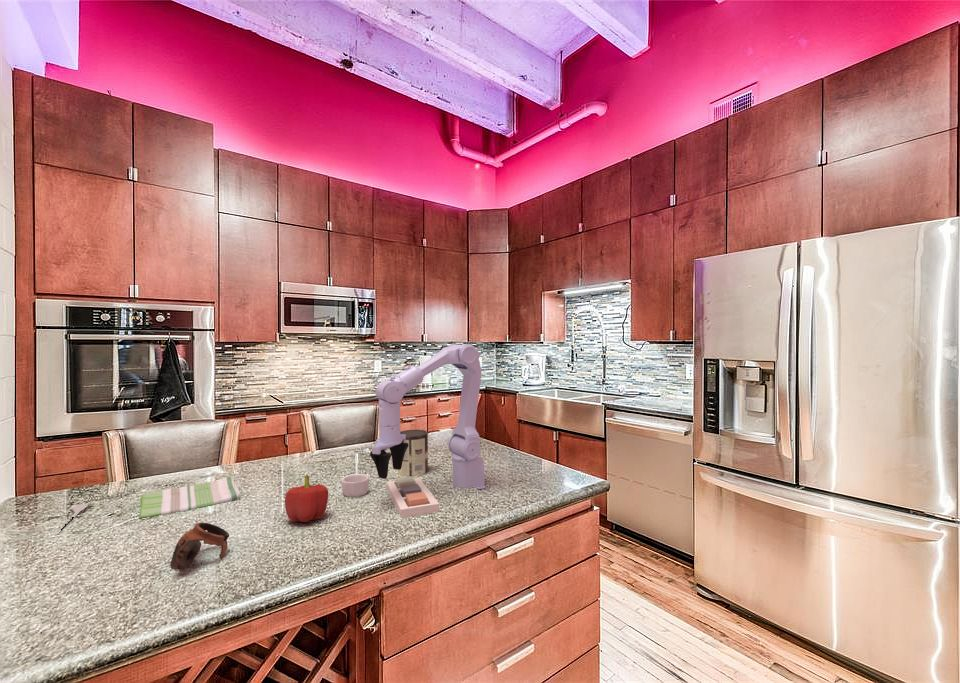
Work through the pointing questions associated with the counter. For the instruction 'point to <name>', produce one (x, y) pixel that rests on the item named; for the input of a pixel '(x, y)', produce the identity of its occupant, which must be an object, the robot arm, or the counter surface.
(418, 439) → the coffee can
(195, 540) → the brown curved piece
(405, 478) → the key sage
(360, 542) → the counter surface
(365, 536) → the counter surface
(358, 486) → the teacup
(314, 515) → the vegetable
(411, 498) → the key terracotta
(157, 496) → the dish towel
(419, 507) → the pink tray
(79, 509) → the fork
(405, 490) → the key charcoal
